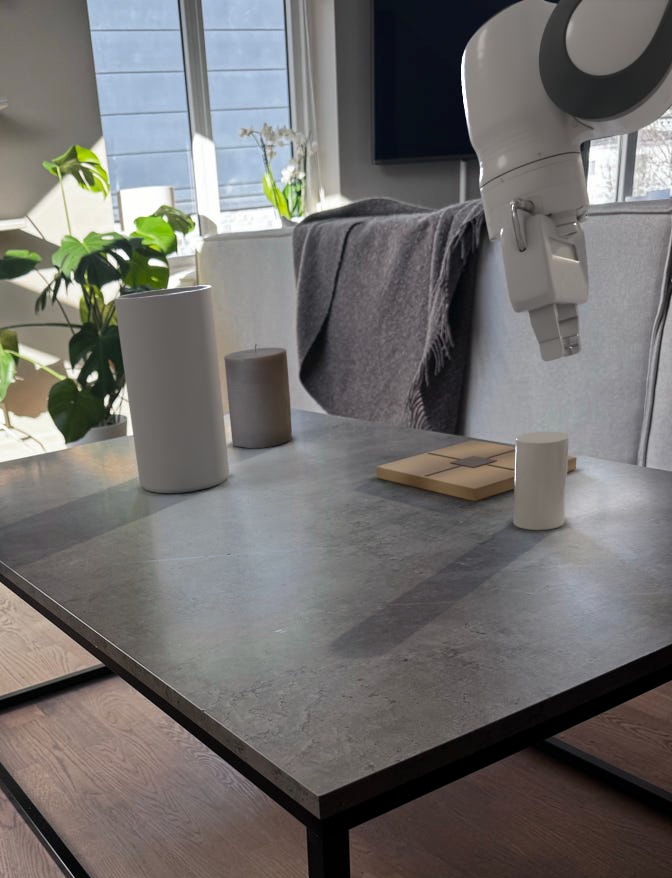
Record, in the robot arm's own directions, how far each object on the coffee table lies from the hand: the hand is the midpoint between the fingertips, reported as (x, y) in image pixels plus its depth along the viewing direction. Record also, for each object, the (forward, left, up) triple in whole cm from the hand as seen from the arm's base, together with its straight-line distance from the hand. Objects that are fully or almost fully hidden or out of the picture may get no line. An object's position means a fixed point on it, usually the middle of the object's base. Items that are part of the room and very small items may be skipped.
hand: (563, 357), depth 87 cm
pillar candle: (+34, -51, -17) cm, 64 cm away
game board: (+5, -23, -17) cm, 29 cm away
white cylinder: (+1, -2, -17) cm, 17 cm away
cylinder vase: (+43, -29, -17) cm, 55 cm away
